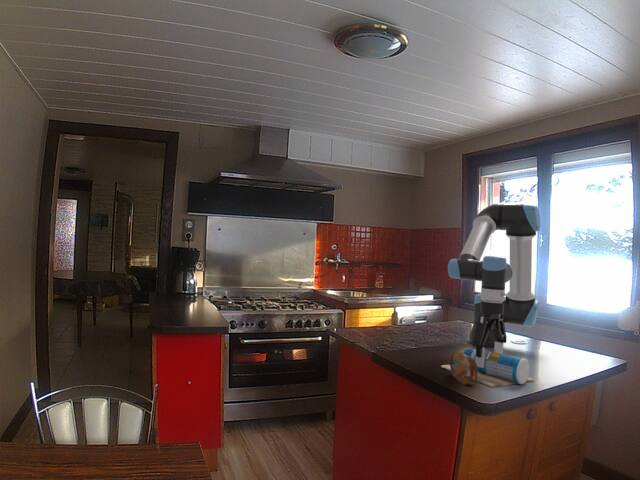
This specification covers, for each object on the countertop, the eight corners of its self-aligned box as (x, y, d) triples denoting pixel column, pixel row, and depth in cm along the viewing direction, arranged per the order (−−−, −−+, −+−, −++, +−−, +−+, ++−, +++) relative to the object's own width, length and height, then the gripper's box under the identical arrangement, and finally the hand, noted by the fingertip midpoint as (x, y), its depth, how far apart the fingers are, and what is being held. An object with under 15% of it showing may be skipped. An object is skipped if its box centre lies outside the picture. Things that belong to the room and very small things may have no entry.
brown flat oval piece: (448, 373, 143) (450, 348, 144) (457, 373, 144) (459, 348, 144) (468, 388, 128) (469, 360, 129) (478, 389, 129) (479, 361, 129)
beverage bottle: (517, 385, 132) (458, 368, 147) (528, 385, 138) (471, 370, 153) (520, 357, 133) (462, 344, 148) (531, 359, 139) (474, 346, 154)
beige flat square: (480, 362, 160) (481, 361, 160) (534, 381, 140) (534, 379, 140) (441, 367, 150) (441, 365, 150) (492, 387, 131) (492, 385, 131)
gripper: (485, 304, 133) (482, 372, 133) (518, 301, 150) (515, 361, 150) (463, 301, 139) (460, 366, 139) (497, 298, 156) (494, 356, 156)
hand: (488, 363), depth 144 cm, fingers open, 13 cm apart
